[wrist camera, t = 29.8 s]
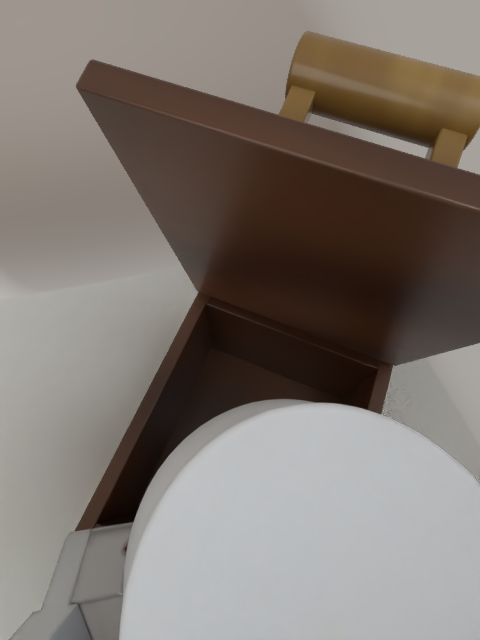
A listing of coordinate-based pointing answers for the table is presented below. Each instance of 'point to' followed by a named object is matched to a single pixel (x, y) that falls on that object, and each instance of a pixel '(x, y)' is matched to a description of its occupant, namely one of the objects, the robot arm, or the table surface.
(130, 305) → the table surface
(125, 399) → the table surface
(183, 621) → the pill bottle
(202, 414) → the chest
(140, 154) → the chest lid
